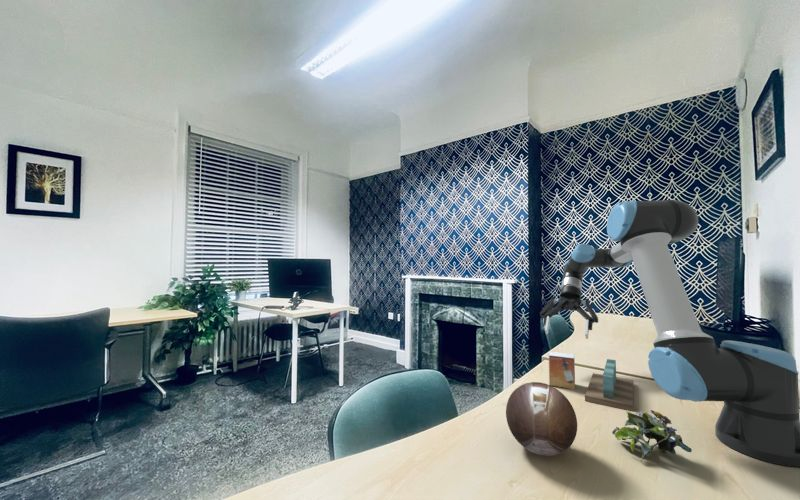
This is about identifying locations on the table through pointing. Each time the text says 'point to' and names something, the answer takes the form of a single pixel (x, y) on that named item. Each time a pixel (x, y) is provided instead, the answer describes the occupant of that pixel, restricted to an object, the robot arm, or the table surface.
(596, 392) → the ridge stand
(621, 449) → the table surface
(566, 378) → the small box
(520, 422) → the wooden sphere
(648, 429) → the green leafy plant
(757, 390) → the robot arm
